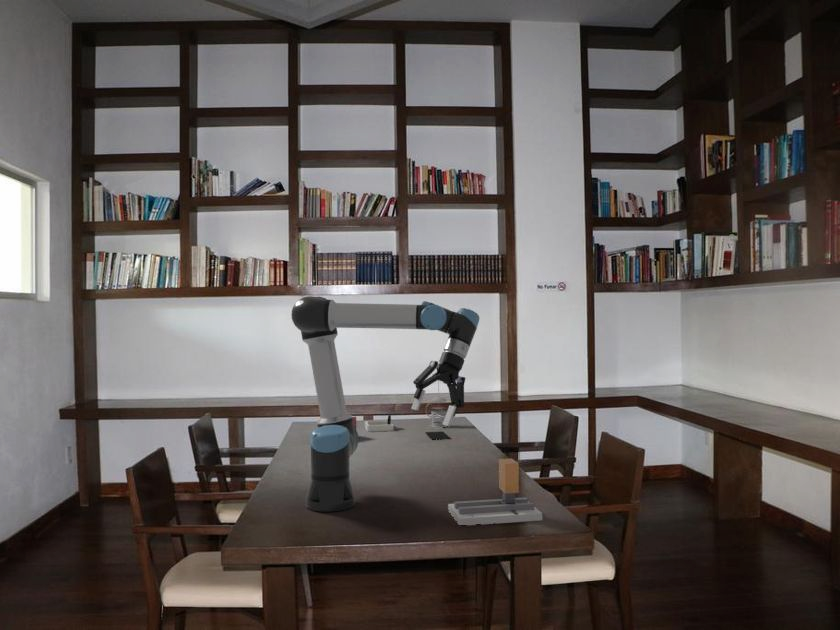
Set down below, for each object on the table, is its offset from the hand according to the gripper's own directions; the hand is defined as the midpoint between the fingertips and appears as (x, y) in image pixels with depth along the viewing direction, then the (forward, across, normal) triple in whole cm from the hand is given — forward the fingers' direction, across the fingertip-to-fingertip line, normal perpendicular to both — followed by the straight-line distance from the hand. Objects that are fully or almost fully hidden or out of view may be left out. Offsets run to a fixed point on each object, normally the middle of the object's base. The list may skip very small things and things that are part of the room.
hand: (430, 417), depth 201 cm
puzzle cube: (+11, +37, +106) cm, 113 cm away
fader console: (+20, +18, -22) cm, 35 cm away
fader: (+17, +20, -24) cm, 35 cm away
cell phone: (-6, +71, +83) cm, 109 cm away
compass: (-2, +62, +114) cm, 129 cm away
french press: (-13, +85, +103) cm, 134 cm away
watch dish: (-1, +60, +116) cm, 131 cm away
